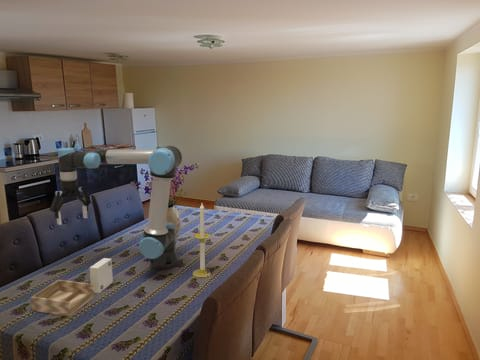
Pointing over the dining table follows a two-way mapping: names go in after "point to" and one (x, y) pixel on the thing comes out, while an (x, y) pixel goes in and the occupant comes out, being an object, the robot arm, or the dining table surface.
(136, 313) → the dining table surface
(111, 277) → the plain off-white rectangular block
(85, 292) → the cabinet carcass
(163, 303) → the dining table surface
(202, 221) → the candle
